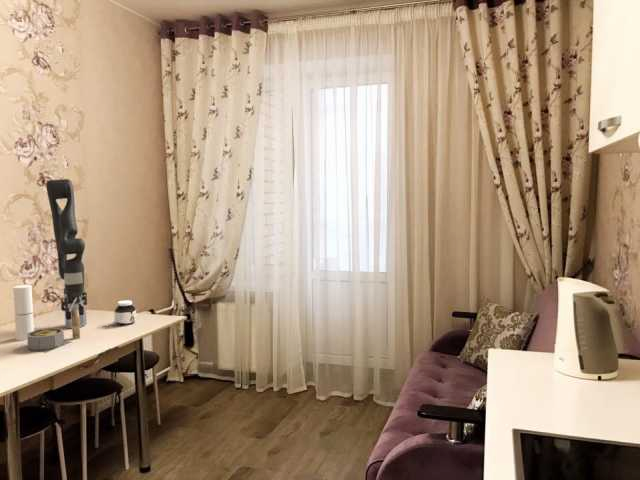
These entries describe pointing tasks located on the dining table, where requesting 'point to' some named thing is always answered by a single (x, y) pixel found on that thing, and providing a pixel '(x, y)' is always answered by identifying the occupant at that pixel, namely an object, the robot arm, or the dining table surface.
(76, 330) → the wick
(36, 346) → the grey octagonal bowl
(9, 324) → the dining table surface
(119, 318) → the spread jar
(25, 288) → the cylindrical container
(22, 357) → the dining table surface
